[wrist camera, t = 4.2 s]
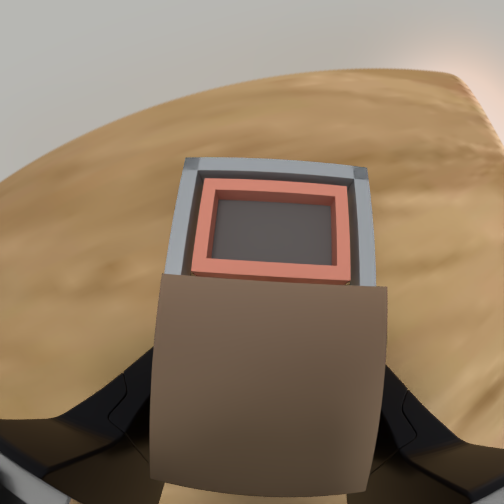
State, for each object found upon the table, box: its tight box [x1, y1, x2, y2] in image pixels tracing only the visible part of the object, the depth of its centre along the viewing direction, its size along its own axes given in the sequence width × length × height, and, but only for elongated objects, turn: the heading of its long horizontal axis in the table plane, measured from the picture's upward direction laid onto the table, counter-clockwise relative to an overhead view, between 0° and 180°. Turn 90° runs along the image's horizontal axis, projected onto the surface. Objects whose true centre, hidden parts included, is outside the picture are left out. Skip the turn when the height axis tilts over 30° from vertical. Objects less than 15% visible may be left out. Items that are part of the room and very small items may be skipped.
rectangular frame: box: [191, 178, 351, 285], centre depth 18 cm, size 6×9×2 cm, turn 86°
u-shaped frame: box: [164, 157, 376, 286], centre depth 16 cm, size 18×12×2 cm, turn 176°
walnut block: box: [150, 273, 387, 497], centre depth 10 cm, size 4×4×11 cm
